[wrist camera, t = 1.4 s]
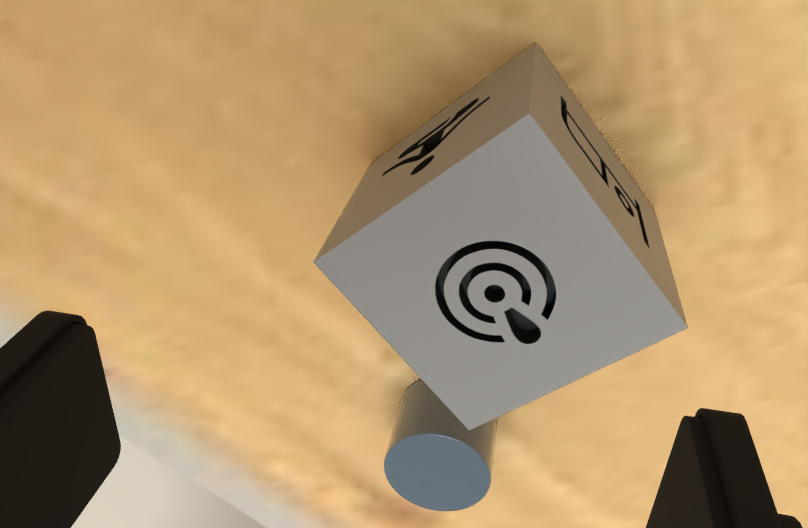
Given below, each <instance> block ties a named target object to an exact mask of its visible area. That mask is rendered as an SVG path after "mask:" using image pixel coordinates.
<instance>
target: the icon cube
mask: <svg viewBox="0 0 808 528" xmlns="http://www.w3.org/2000/svg"><path fill="white" fill-rule="evenodd" d="M314 263H315V265H316V266H317V267H318V268H319V269H320V270H321V271H322V272H323V273H324V274H325V275H326V276H327V277H328V279H329V280H330V281H331V282H332V283H333V284H334V285H335V286H336V287H337V288H338V289H339V290H340V292H341V293H342V294H343V295H344V296H345V297H346V298H347V299H348V300H349V301H350V302H351V303H352V304H353V306H354V307H355V308H356V309H357V310H358V311H359V312H360V313H361V314H362V315H363V316H364V317H365V319H366V320H367V321H368V322H369V323H370V324H371V325H372V326H373V327H374V328H375V329H376V330H377V331H378V333H379V334H380V335H381V336H382V337H383V338H384V339H385V340H386V341H387V342H388V343H389V344H390V346H391V347H392V348H393V349H394V350H395V351H396V352H397V353H398V354H399V355H400V356H401V357H402V358H403V360H404V361H405V362H406V363H407V364H408V365H409V366H410V367H411V368H412V369H413V370H414V371H415V373H416V374H417V375H418V376H419V377H420V378H421V379H422V380H423V381H424V382H425V383H426V384H427V385H428V387H429V388H430V389H431V390H432V391H433V392H434V393H435V394H436V395H437V396H438V397H439V398H440V400H441V401H442V402H443V403H444V404H445V405H446V406H447V407H448V408H449V409H450V410H451V411H452V412H453V414H454V415H455V416H456V417H457V418H458V419H459V420H460V421H461V422H462V423H463V424H464V425H465V427H466V428H467V429H468V430H471V429H474V428H476V427H478V426H480V425H482V424H484V423H486V422H488V421H491V420H493V419H495V418H497V417H499V416H501V415H503V414H505V413H508V412H510V411H512V410H514V409H516V408H518V407H520V406H523V405H525V404H527V403H529V402H531V401H533V400H535V399H537V398H540V397H542V396H544V395H546V394H548V393H550V392H552V391H554V390H557V389H559V388H561V387H563V386H565V385H567V384H569V383H572V382H574V381H576V380H578V379H580V378H582V377H584V376H586V375H589V374H591V373H593V372H595V371H597V370H599V369H601V368H603V367H606V366H608V365H610V364H612V363H614V362H616V361H618V360H621V359H623V358H625V357H627V356H629V355H631V354H633V353H635V352H638V351H640V350H642V349H644V348H646V347H648V346H650V345H652V344H655V343H657V342H659V341H661V340H663V339H665V338H667V337H669V336H672V335H674V334H676V333H678V332H680V331H682V330H684V329H687V328H688V326H687V323H686V319H685V316H684V312H683V309H682V305H681V302H680V298H679V295H678V291H677V288H676V284H675V280H674V277H673V273H672V270H671V266H670V263H669V259H668V256H667V252H666V249H665V245H664V242H663V238H662V235H661V231H660V228H659V224H658V221H657V217H656V214H655V210H654V208H653V206H652V205H651V204H650V202H649V201H648V199H647V198H646V197H645V195H644V194H643V192H642V191H641V189H640V188H639V187H638V185H637V184H636V182H635V181H634V180H633V178H632V177H631V175H630V174H629V172H628V171H627V170H626V168H625V167H624V165H623V164H622V163H621V161H620V160H619V158H618V157H617V155H616V154H615V153H614V151H613V150H612V148H611V147H610V146H609V144H608V143H607V141H606V140H605V139H604V137H603V136H602V134H601V133H600V131H599V130H598V129H597V127H596V126H595V124H594V123H593V122H592V120H591V119H590V117H589V116H588V114H587V113H586V112H585V110H584V109H583V107H582V106H581V105H580V103H579V102H578V100H577V99H576V97H575V96H574V95H573V93H572V92H571V90H570V89H569V88H568V86H567V85H566V83H565V82H564V80H563V79H562V78H561V76H560V75H559V73H558V72H557V71H556V69H555V68H554V66H553V65H552V63H551V62H550V61H549V59H548V58H547V56H546V55H545V54H544V52H543V51H542V49H541V48H540V47H539V45H538V44H537V42H534V43H533V44H532V45H530V46H529V47H528V48H526V49H525V50H524V51H522V52H521V53H520V54H518V55H517V56H516V57H514V58H513V59H512V60H510V61H509V62H507V63H506V64H505V65H503V66H502V67H501V68H499V69H498V70H497V71H495V72H494V73H493V74H491V75H490V76H489V77H487V78H486V79H485V80H483V81H482V82H480V83H479V84H478V85H476V86H475V87H474V88H472V89H471V90H470V91H468V92H467V93H466V94H464V95H463V96H462V97H460V98H459V99H458V100H456V101H455V102H453V103H452V104H451V105H449V106H448V107H447V108H445V109H444V110H443V111H441V112H440V113H439V114H437V115H436V116H435V117H433V118H432V119H431V120H429V121H428V122H426V123H425V124H424V125H422V126H421V127H420V128H418V129H417V130H416V131H414V132H413V133H412V134H410V135H409V136H408V137H406V138H405V139H404V140H402V141H401V142H399V143H398V144H397V145H395V146H394V147H393V148H391V149H390V150H389V151H387V152H386V153H385V154H383V155H382V156H381V157H379V158H378V159H377V160H375V161H374V162H372V163H371V164H370V166H369V167H368V169H367V171H366V173H365V174H364V176H363V178H362V179H361V181H360V183H359V185H358V186H357V188H356V190H355V191H354V193H353V195H352V197H351V198H350V200H349V202H348V203H347V205H346V207H345V209H344V210H343V212H342V214H341V216H340V217H339V219H338V221H337V222H336V224H335V226H334V228H333V229H332V231H331V233H330V234H329V236H328V238H327V240H326V241H325V243H324V245H323V246H322V248H321V250H320V252H319V253H318V255H317V257H316V258H315V260H314Z"/></svg>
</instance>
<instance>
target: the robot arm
mask: <svg viewBox="0 0 808 528" xmlns="http://www.w3.org/2000/svg"><path fill="white" fill-rule="evenodd" d="M120 447H121V444H120V438H119V434H118V430H117V426H116V421H115V417H114V413H113V409H112V404H111V400H110V396H109V391H108V387H107V383H106V379H105V374H104V370H103V366H102V361H101V357H100V353H99V349H98V344H97V340H96V336H95V332H94V330H93V328H92V327H91V326H88V325H87V323H86V321H85V319H84V318H83V317H82V316H79V315H74V314H67V313H60V312H54V311H43V312H41V313H40V314H38V315H37V316H36V317H35V318H33V319H32V320H31V321H30V322H29V323H28V324H27V325H26V326H25V327H23V328H22V329H21V330H20V331H19V332H18V333H17V334H16V335H15V336H14V337H12V338H11V339H10V340H9V341H8V342H7V343H6V344H5V345H4V346H2V347H1V348H0V528H71V527H72V525H73V524H74V522H75V521H76V519H77V518H78V517H79V515H80V514H81V512H82V511H83V510H84V508H85V507H86V505H87V504H88V502H89V501H90V500H91V498H92V497H93V496H94V494H95V493H96V491H97V490H98V488H99V487H100V486H101V484H102V483H103V482H104V480H105V479H106V477H107V476H108V475H109V473H110V472H111V470H112V469H113V468H114V466H115V464H116V463H117V460H118V458H119V454H120V449H121V448H120ZM646 528H802V526H801V524H800V522H799V521H798V520H797V519H796V518H795V517H793V516H788V515H782V514H778V513H777V510H776V508H775V505H774V502H773V499H772V496H771V493H770V490H769V487H768V484H767V481H766V478H765V475H764V472H763V469H762V466H761V463H760V460H759V457H758V454H757V451H756V448H755V445H754V442H753V440H752V437H751V434H750V431H749V428H748V425H747V422H746V420H745V418H744V416H743V415H742V414H738V413H731V412H725V411H718V410H711V409H705V408H701V409H699V410H698V411H697V413H696V415H695V417H691V416H684V417H683V418H682V421H681V423H680V426H679V429H678V432H677V435H676V438H675V441H674V444H673V447H672V450H671V453H670V456H669V459H668V462H667V465H666V468H665V471H664V474H663V477H662V480H661V483H660V487H659V490H658V493H657V496H656V499H655V502H654V505H653V508H652V511H651V514H650V517H649V520H648V523H647V526H646Z"/></svg>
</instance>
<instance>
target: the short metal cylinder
mask: <svg viewBox="0 0 808 528" xmlns="http://www.w3.org/2000/svg"><path fill="white" fill-rule="evenodd" d="M496 425H497V418H495V419H493V420H491V421H488V422H486V423H484V424H482V425H480V426H478V427H476V428H474V429H471V430H468V429H467V428H466V427H465V425H464V424H463V423H462V422H461V421H460V420H459V419H458V418H457V417H456V416H455V415H454V414H453V412H452V411H451V410H450V409H449V408H448V407H447V406H446V405H445V404H444V403H443V402H442V401H441V400H440V398H439V397H438V396H437V395H436V394H435V393H434V392H433V391H432V390H431V389H430V388H429V387H428V385H427V384H426V383H425V382H424V381H423V380H422V379H421V380H419V381H417V382H415V383H414V384H412V385H411V386H410V387H409V388H408V389H407V390H406V391H405V393H404V394H403V396H402V399H401V402H400V406H399V409H398V413H397V417H396V420H395V424H394V427H393V431H392V435H391V438H390V442H389V446H388V449H387V453H386V456H385V461H384V470H385V474H386V477H387V479H388V481H389V483H390V485H391V486H392V488H393V489H394V490H395V491H396V492H397V493H398V494H399V495H400V496H402V497H403V498H404V499H406V500H408V501H409V502H411V503H413V504H415V505H417V506H420V507H423V508H426V509H430V510H435V511H457V510H462V509H465V508H468V507H470V506H473V505H474V504H476V503H478V502H479V501H480V500H481V499H482V498H483V497H484V496H485V495H486V493H487V492H488V490H489V487H490V484H491V476H492V465H493V455H494V445H495V435H496Z"/></svg>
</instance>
